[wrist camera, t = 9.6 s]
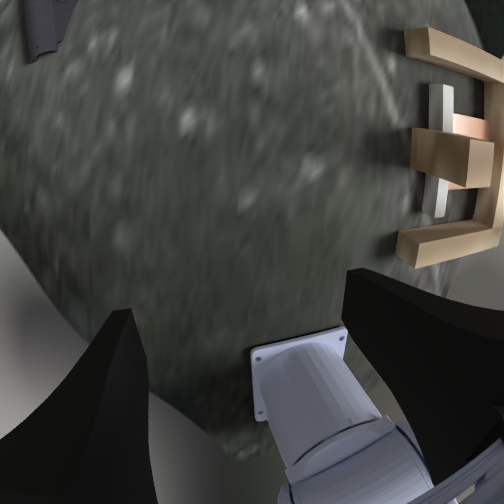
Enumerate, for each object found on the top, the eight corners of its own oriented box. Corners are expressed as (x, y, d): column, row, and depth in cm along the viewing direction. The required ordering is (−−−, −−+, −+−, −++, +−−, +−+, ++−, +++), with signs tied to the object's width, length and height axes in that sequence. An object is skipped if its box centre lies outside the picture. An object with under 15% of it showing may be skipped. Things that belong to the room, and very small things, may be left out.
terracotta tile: (472, 183, 24) (484, 187, 22) (431, 184, 22) (444, 189, 21) (476, 118, 21) (489, 121, 20) (435, 110, 20) (448, 112, 18)
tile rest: (480, 236, 26) (497, 246, 24) (395, 254, 23) (414, 268, 21) (494, 65, 19) (514, 67, 16) (403, 31, 16) (428, 26, 14)
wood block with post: (431, 210, 23) (481, 235, 18) (405, 213, 22) (456, 241, 17) (439, 86, 18) (496, 91, 14) (411, 79, 18) (471, 81, 13)
